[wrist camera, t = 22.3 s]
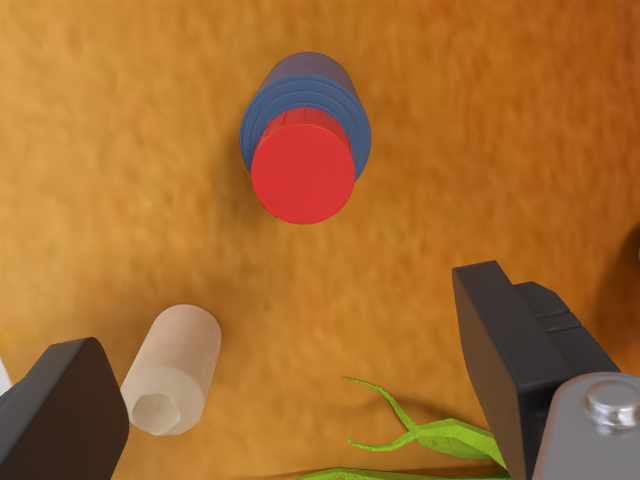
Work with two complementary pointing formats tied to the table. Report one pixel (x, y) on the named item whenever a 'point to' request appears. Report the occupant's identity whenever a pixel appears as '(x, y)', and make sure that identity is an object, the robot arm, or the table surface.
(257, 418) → the table surface
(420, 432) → the decorative plant
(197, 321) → the candle
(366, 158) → the water bottle
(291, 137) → the cap
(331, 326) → the table surface
